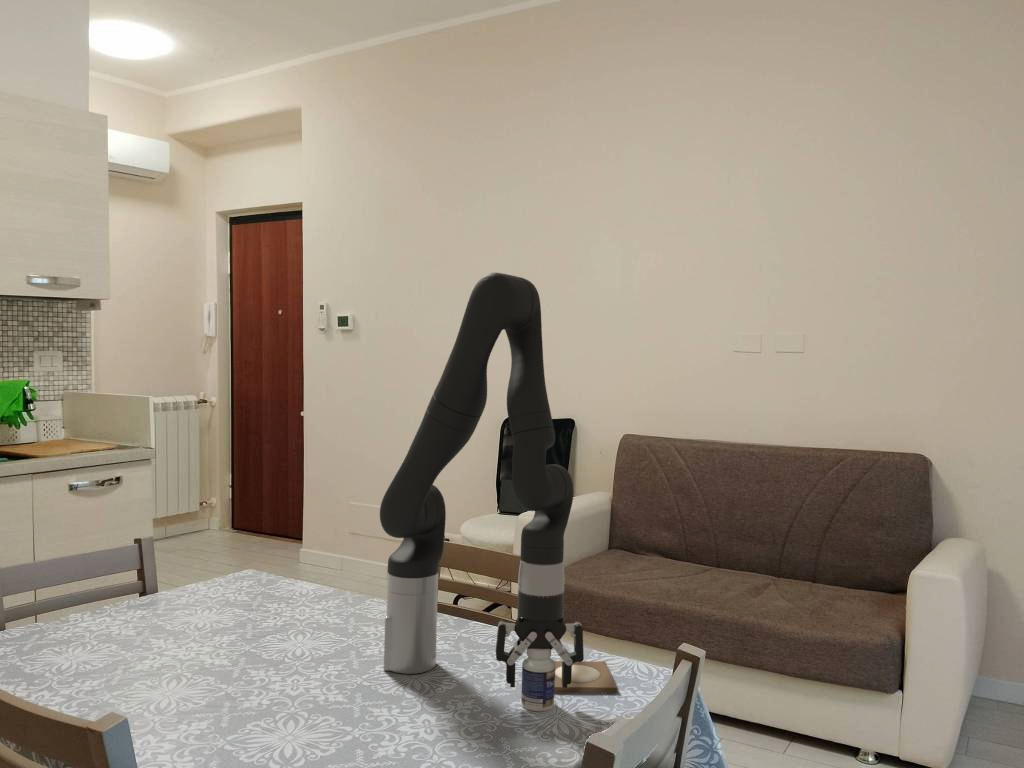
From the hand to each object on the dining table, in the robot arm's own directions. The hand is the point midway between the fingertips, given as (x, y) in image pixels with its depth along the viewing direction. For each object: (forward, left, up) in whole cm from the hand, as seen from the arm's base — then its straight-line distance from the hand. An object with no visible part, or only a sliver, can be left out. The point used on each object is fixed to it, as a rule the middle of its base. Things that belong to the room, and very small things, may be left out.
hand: (538, 685), depth 131 cm
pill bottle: (0, 0, -3) cm, 3 cm away
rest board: (+8, +11, -3) cm, 14 cm away
